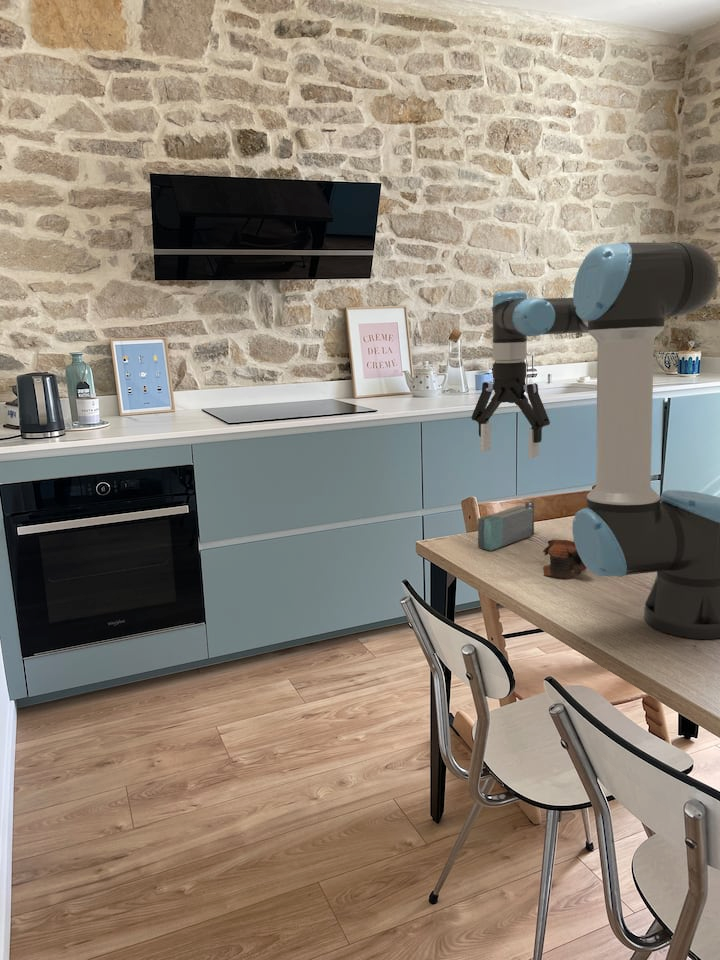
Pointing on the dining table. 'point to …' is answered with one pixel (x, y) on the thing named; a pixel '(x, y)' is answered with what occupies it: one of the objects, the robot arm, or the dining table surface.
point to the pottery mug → (563, 559)
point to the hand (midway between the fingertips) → (509, 453)
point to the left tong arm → (481, 520)
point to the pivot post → (531, 505)
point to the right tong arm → (507, 528)
